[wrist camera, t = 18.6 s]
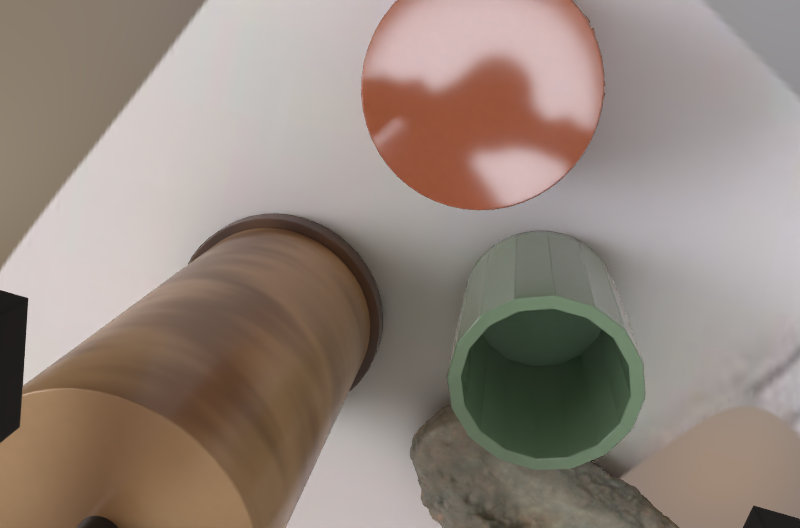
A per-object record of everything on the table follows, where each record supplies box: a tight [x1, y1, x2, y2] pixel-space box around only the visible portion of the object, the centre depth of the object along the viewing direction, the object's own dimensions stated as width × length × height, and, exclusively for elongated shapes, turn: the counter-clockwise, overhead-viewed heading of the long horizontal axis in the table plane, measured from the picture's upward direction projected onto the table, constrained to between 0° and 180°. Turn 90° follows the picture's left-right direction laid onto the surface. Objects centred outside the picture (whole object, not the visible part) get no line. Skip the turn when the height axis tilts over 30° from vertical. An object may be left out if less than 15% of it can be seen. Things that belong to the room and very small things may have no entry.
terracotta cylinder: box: [361, 0, 605, 210], centre depth 32 cm, size 9×9×10 cm
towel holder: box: [0, 214, 383, 528], centre depth 30 cm, size 12×12×27 cm
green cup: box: [447, 231, 645, 470], centre depth 36 cm, size 8×8×10 cm
